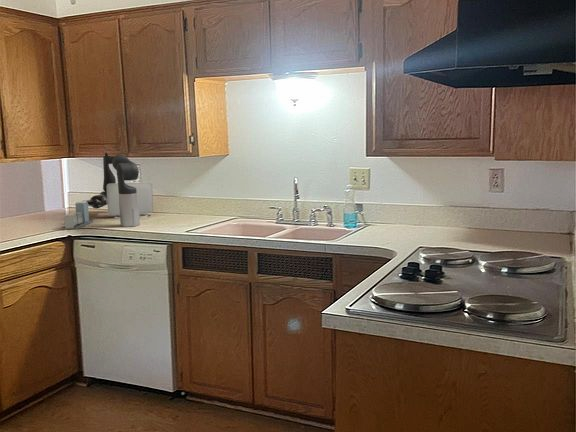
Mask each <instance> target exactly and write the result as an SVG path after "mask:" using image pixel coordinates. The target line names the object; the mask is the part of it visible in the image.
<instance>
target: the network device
mask: <svg viewBox="0 0 576 432" xmlns="http://www.w3.org/2000/svg"><path fill="white" fill-rule="evenodd" d="M125 184H127V185H129V186H132V187H135V188H136V190H137V207H139V217H140V218H147V217H149V216H148V214H152V213H153V212H154V196H153V195H154V194H153V184H152V182H150V181H139V182H138V181H137V182H125ZM106 188H107V214H108V215H109V216H113V217H114V218H113V219H115V220H118V219H119V220H120V209H119V191H118V182H116V183H112V184H107V186H106Z"/></svg>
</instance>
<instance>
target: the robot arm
mask: <svg viewBox="0 0 576 432" xmlns="http://www.w3.org/2000/svg"><path fill="white" fill-rule="evenodd" d="M102 161H103V163H102V165H103V168H102V169H103V184H102V190H103V191H101V192H100V193H99V194H96V195H94V196H91V198H90V199H88V200H87V199H86V200H85V201H87V202H88V207H91V208H93V209H95V210H96V209H97V210H98V209H101V208H103V207H104V206H108V204H107V188H106V186H107V184H112V183H118V191H119V209H120V215H119V216H120V219H119V221H120V222H119V223H120V227H125V228H126V227H136V226H139V225H140V224H141V223H140V222H141V221H140V220H141V219H140V218H141V217H139V207H137V190H136V188H135V187H132V186H129V185H127V184H125V183H126V182H125V181H134V180H135V181H136V180H137V179H138V178H139V174H140V171H139V170H140V169H139V167H138V165H137V163H135V162H133V161H132V160H130V159H129V157H127V156H126V155H125V153H124V154H118V155H116V156H115V157H110V156H108V154H107V153H105V156H104V157H103V156H102ZM110 165H112V167H113V169H114V170H115V171H116V176H117V182H116V176H115V174H114V173H113V172H112V170H111V168H110Z"/></svg>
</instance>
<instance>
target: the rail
mask: <svg viewBox="0 0 576 432" xmlns="http://www.w3.org/2000/svg"><path fill="white" fill-rule="evenodd" d="M93 222H94V219H92V218H91V219H90V218H89V221H88V222H85V223H82V212H76V211H72V212H70V213H68V214H64V225H63V226H62V227H61V230H78V229H81V228H83V227H86V226H88V225H90V224H93Z"/></svg>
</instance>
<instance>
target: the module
mask: <svg viewBox="0 0 576 432" xmlns="http://www.w3.org/2000/svg"><path fill="white" fill-rule="evenodd" d="M74 204H75V212H82V223H85V222H88V221H89V220H90V217H89V215H90V214H89V206H88V202H87V201H86V200H80V201H76V202H75V203H74Z"/></svg>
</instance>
